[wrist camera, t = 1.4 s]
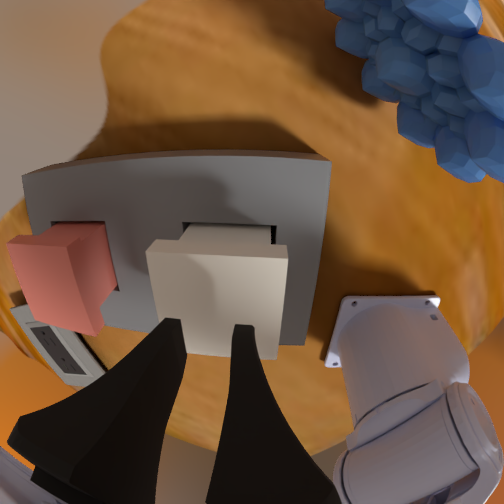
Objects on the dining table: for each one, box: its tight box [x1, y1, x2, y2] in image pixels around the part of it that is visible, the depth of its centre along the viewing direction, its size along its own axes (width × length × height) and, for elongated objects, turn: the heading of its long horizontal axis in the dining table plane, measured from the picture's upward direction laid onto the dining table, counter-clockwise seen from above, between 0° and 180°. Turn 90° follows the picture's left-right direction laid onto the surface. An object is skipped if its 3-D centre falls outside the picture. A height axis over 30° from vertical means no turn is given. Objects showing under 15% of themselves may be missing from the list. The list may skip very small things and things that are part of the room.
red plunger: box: [6, 221, 118, 337], centre depth 14 cm, size 6×6×5 cm
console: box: [22, 149, 332, 345], centre depth 17 cm, size 20×12×4 cm, turn 89°
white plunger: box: [145, 222, 288, 360], centre depth 14 cm, size 6×6×5 cm
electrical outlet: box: [10, 304, 106, 387], centre depth 25 cm, size 13×10×2 cm
